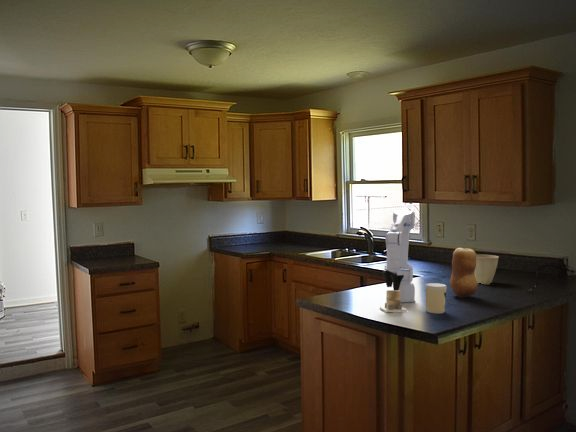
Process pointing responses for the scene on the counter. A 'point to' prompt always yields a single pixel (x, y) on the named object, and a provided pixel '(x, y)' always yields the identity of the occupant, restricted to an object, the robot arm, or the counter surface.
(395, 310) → the cream pegged base plate
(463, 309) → the counter surface
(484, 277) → the plant pot
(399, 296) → the wooden block
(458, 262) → the butternut squash
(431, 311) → the coffee cup
